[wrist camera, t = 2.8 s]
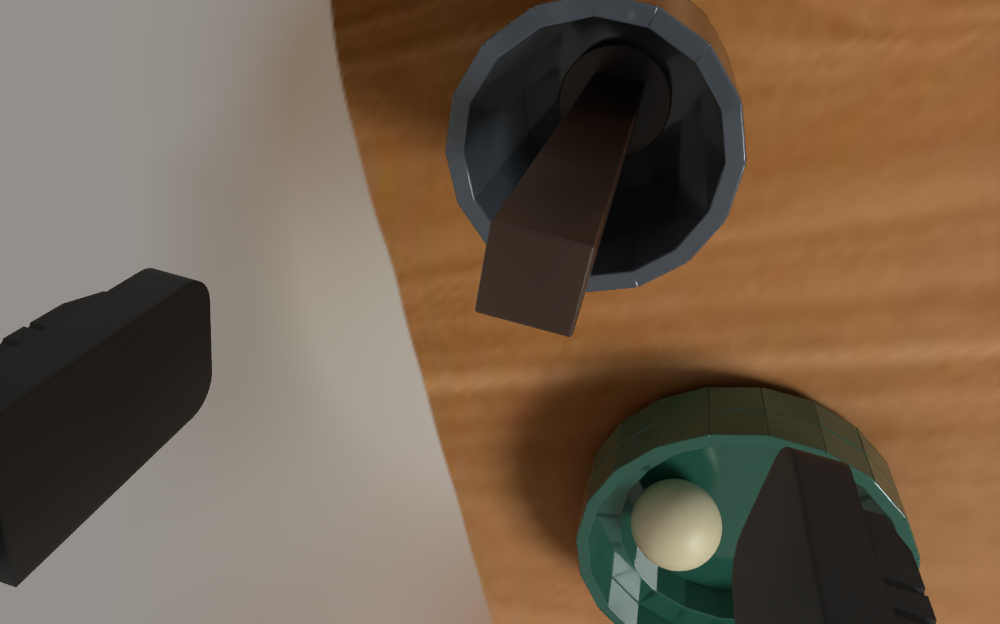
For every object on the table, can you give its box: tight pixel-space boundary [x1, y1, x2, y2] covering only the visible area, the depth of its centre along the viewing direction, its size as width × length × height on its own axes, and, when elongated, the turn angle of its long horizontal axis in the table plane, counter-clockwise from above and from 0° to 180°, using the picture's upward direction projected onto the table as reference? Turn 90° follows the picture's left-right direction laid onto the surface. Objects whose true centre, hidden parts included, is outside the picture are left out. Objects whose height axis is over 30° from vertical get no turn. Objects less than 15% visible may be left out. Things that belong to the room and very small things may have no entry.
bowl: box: [576, 387, 920, 624], centre depth 36 cm, size 15×15×4 cm
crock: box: [445, 0, 747, 292], centre depth 26 cm, size 9×9×10 cm
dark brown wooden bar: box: [475, 40, 672, 337], centre depth 22 cm, size 4×4×18 cm
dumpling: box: [631, 479, 722, 571], centre depth 36 cm, size 4×4×4 cm
